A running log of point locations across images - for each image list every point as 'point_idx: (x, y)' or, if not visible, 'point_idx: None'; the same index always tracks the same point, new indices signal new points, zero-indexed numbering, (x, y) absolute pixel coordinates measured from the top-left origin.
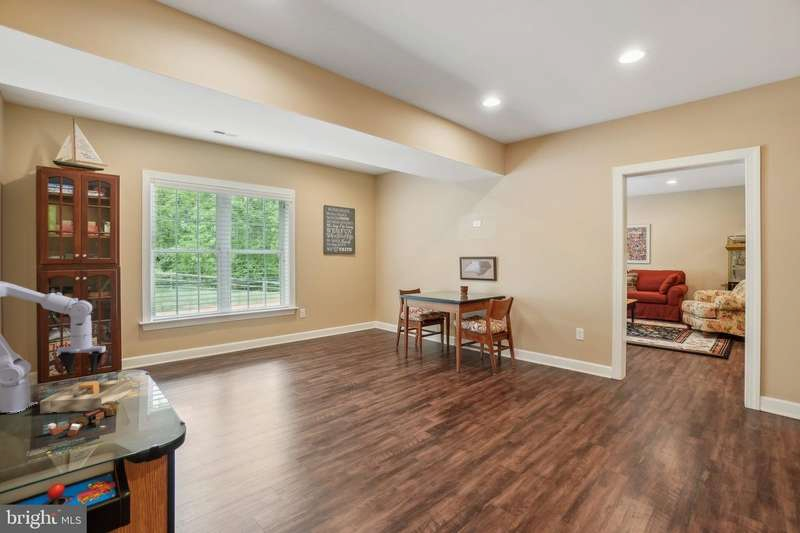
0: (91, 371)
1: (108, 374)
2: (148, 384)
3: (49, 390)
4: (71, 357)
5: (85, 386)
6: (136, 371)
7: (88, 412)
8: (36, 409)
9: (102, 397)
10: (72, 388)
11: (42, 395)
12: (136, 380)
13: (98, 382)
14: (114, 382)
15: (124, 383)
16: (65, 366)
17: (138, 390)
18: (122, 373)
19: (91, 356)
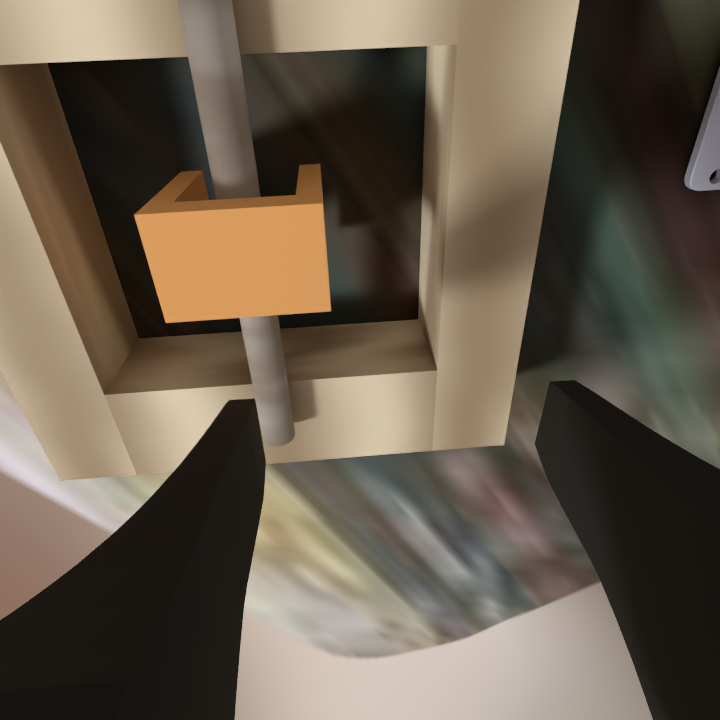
0: (237, 410)
1: (482, 622)
2: (80, 503)
3: (703, 435)
4: (680, 654)
5: (237, 204)
6: (352, 653)
7: None
8: (634, 28)
9: None
10: (465, 298)
11: (714, 356)
12: None
13: (165, 314)
14: (164, 425)
15: (30, 398)
16: (659, 444)
17: None
18: (412, 633)
19: (25, 667)
